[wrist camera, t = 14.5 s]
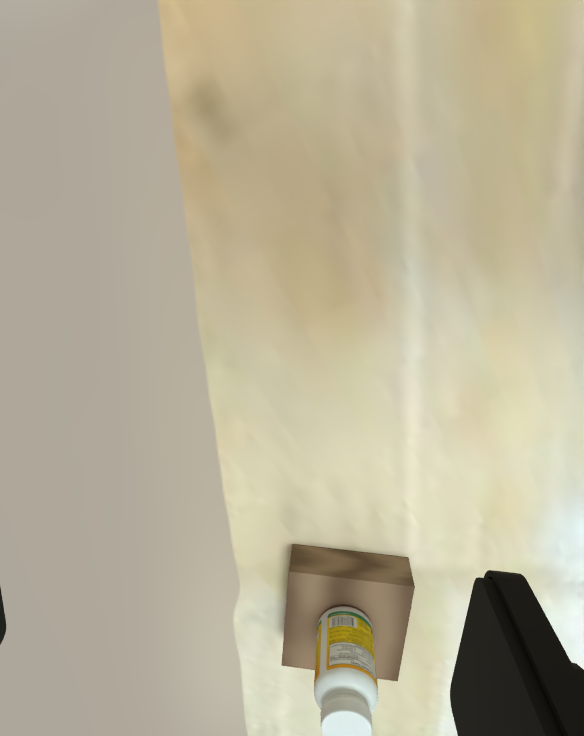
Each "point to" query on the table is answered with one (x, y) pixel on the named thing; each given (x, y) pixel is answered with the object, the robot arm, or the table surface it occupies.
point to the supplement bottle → (345, 672)
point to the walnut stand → (347, 602)
